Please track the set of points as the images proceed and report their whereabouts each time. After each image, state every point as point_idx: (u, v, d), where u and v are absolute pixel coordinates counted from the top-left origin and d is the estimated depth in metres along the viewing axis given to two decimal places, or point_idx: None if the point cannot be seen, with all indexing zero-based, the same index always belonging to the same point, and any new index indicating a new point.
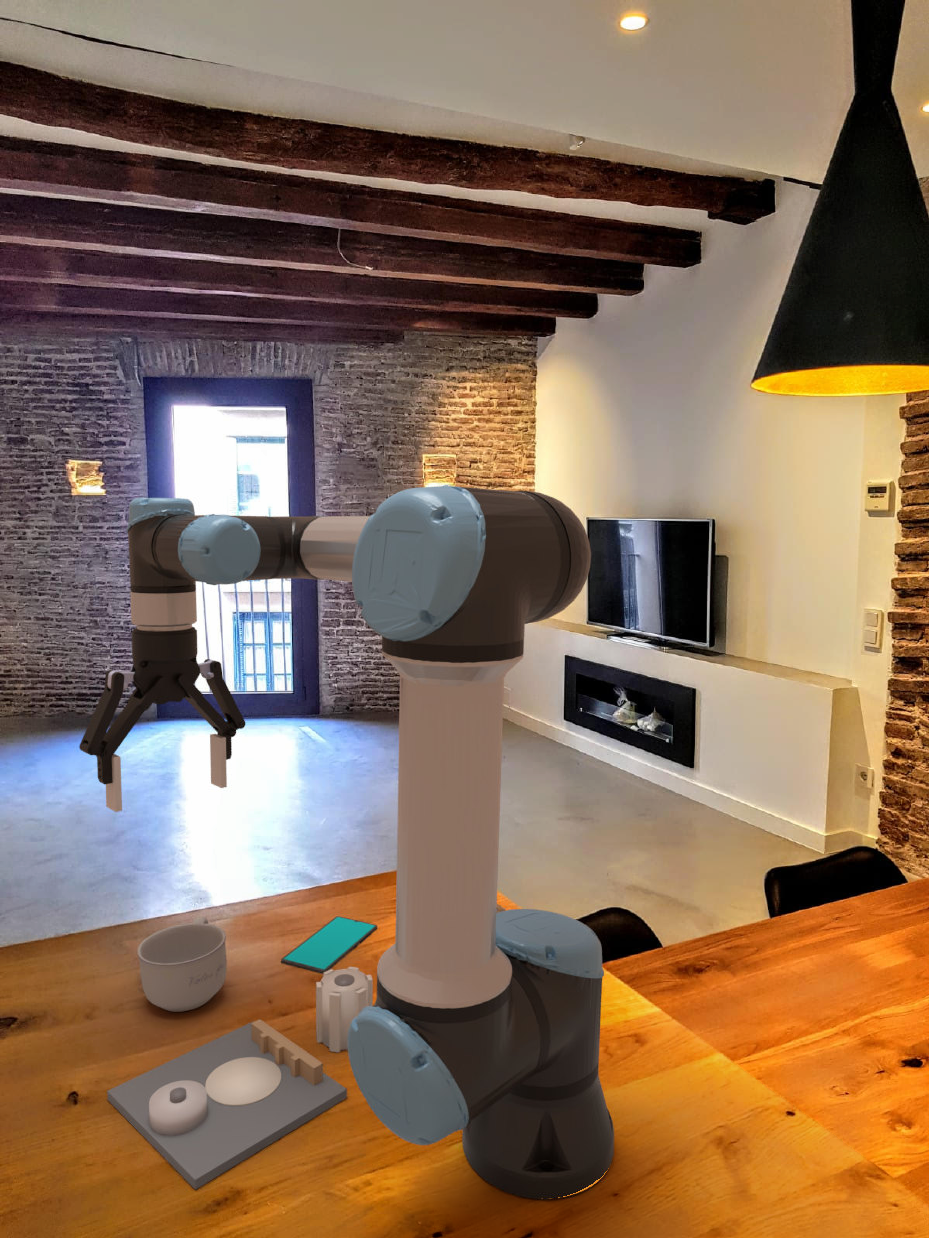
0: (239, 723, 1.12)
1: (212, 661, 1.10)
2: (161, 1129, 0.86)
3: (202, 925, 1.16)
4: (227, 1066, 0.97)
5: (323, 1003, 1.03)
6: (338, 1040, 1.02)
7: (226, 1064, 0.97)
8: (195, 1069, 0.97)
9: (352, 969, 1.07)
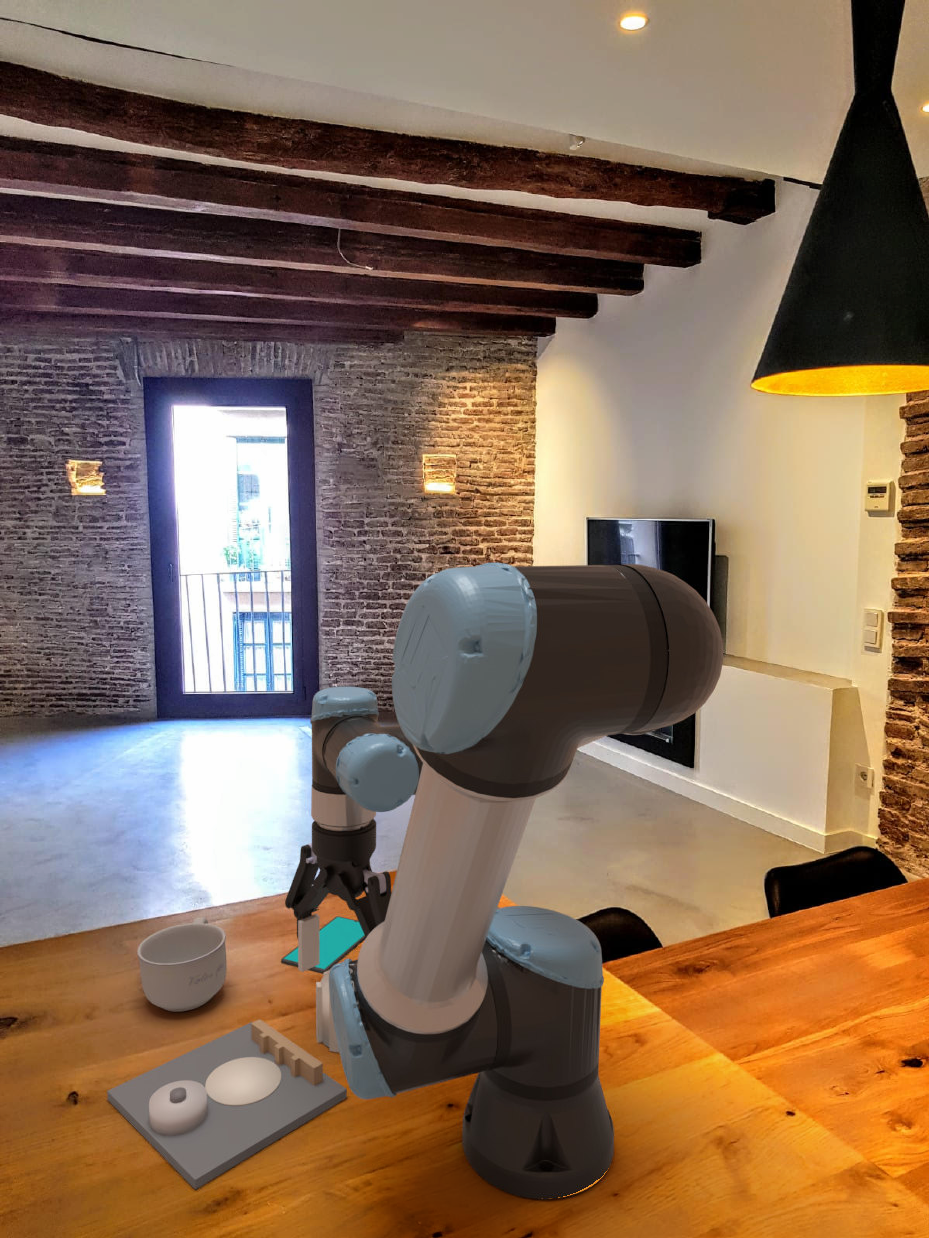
0: None
1: (374, 875, 0.98)
2: (161, 1129, 0.86)
3: (202, 925, 1.16)
4: (227, 1066, 0.97)
5: (323, 1003, 1.03)
6: None
7: (226, 1064, 0.97)
8: (195, 1069, 0.97)
9: None
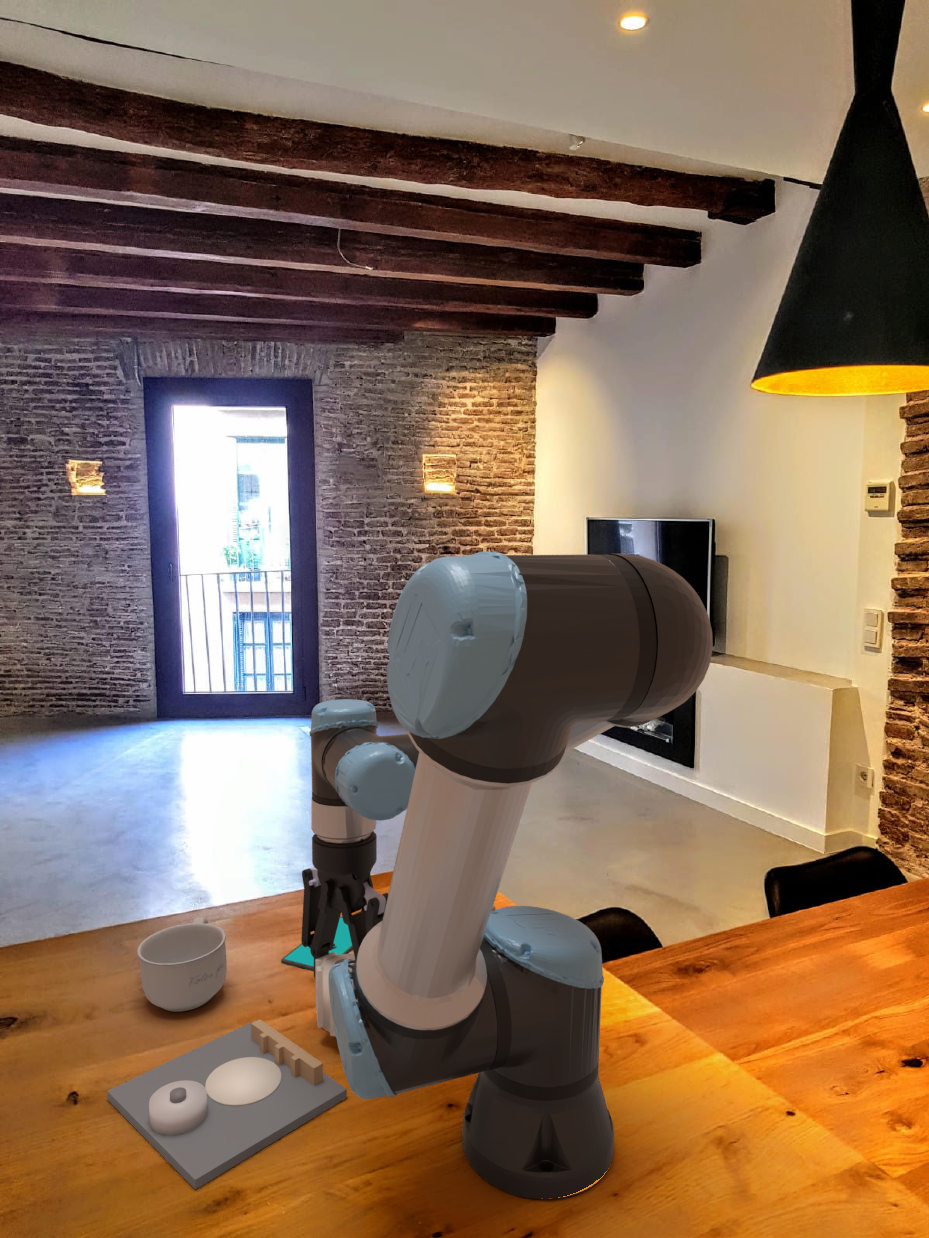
0: None
1: (375, 897, 0.98)
2: (161, 1129, 0.86)
3: (202, 925, 1.16)
4: (227, 1066, 0.97)
5: (323, 987, 1.02)
6: None
7: (226, 1064, 0.97)
8: (195, 1069, 0.97)
9: (353, 954, 1.06)
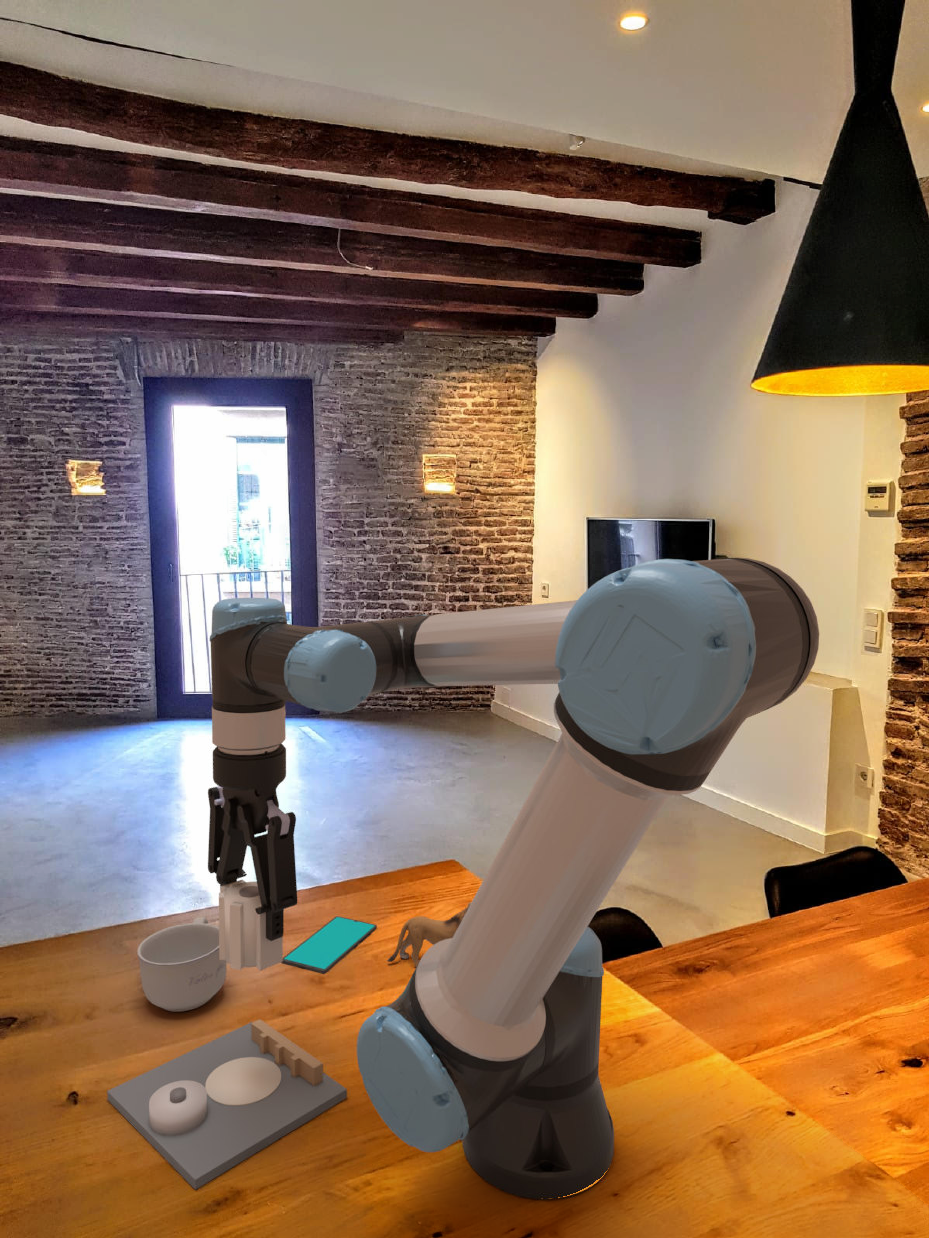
0: (272, 903, 0.88)
1: (278, 816, 0.88)
2: (161, 1129, 0.86)
3: (202, 925, 1.16)
4: (227, 1066, 0.97)
5: (225, 915, 0.92)
6: (239, 956, 0.91)
7: (226, 1064, 0.97)
8: (195, 1069, 0.97)
9: None
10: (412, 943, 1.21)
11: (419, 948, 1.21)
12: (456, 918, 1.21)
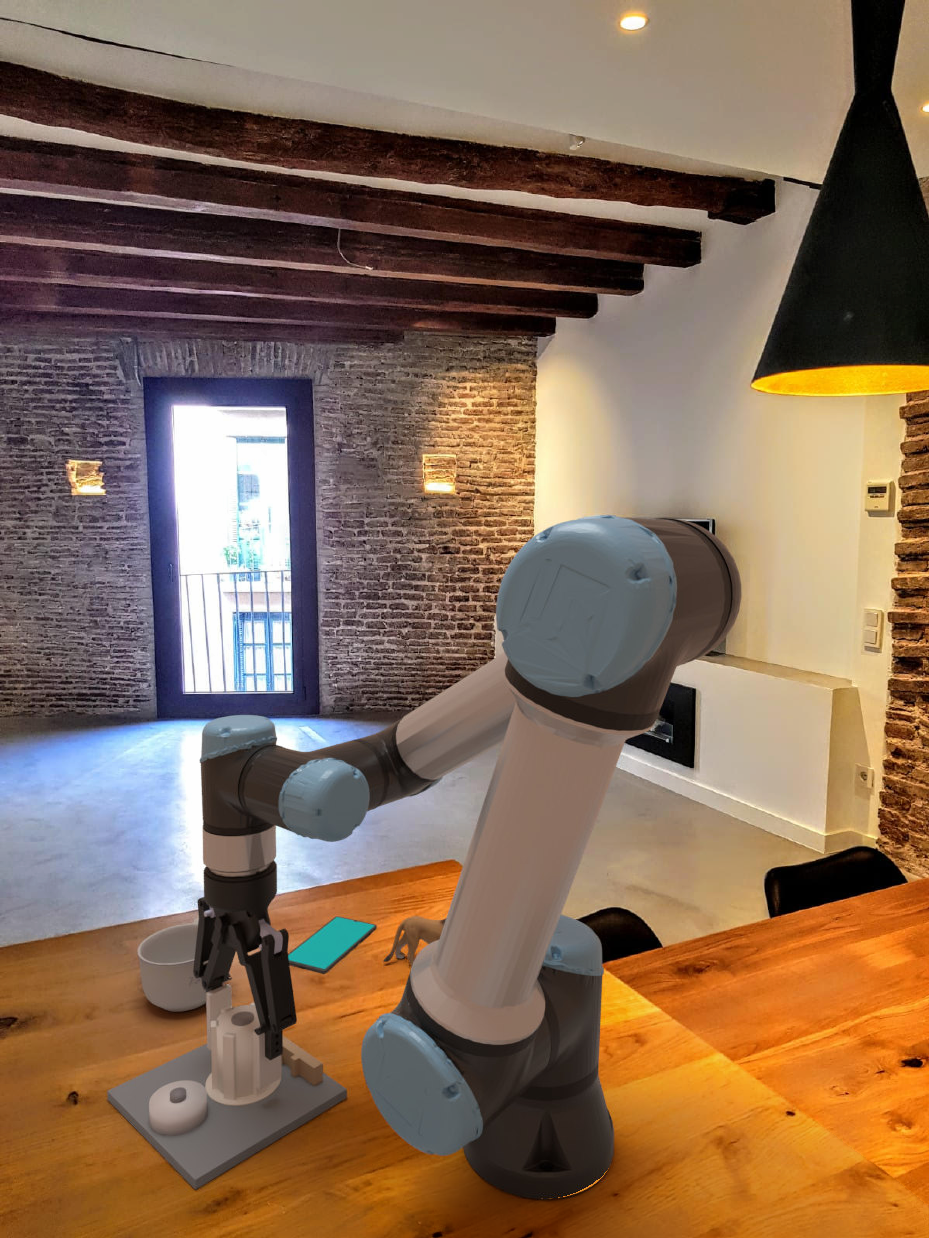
0: (271, 1024, 0.88)
1: (270, 934, 0.88)
2: (161, 1129, 0.86)
3: None
4: None
5: (217, 1045, 0.92)
6: (233, 1086, 0.91)
7: None
8: (195, 1069, 0.97)
9: (254, 1006, 0.96)
10: (408, 943, 1.21)
11: (415, 948, 1.21)
12: None
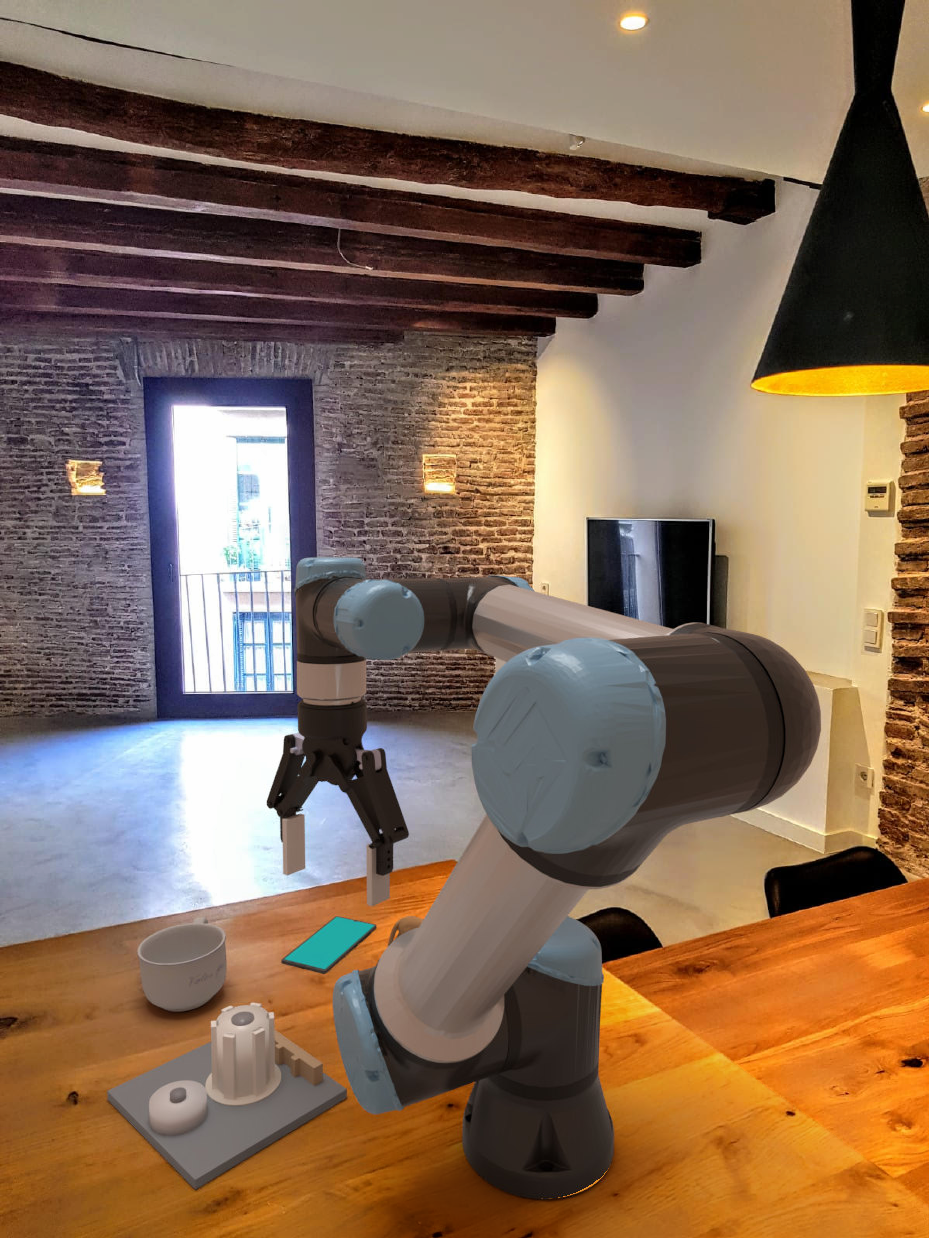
0: (386, 836, 0.90)
1: (368, 751, 0.92)
2: (161, 1129, 0.86)
3: (202, 925, 1.16)
4: None
5: (217, 1045, 0.92)
6: (233, 1086, 0.91)
7: None
8: (195, 1069, 0.97)
9: (254, 1006, 0.96)
10: None
11: None
12: None
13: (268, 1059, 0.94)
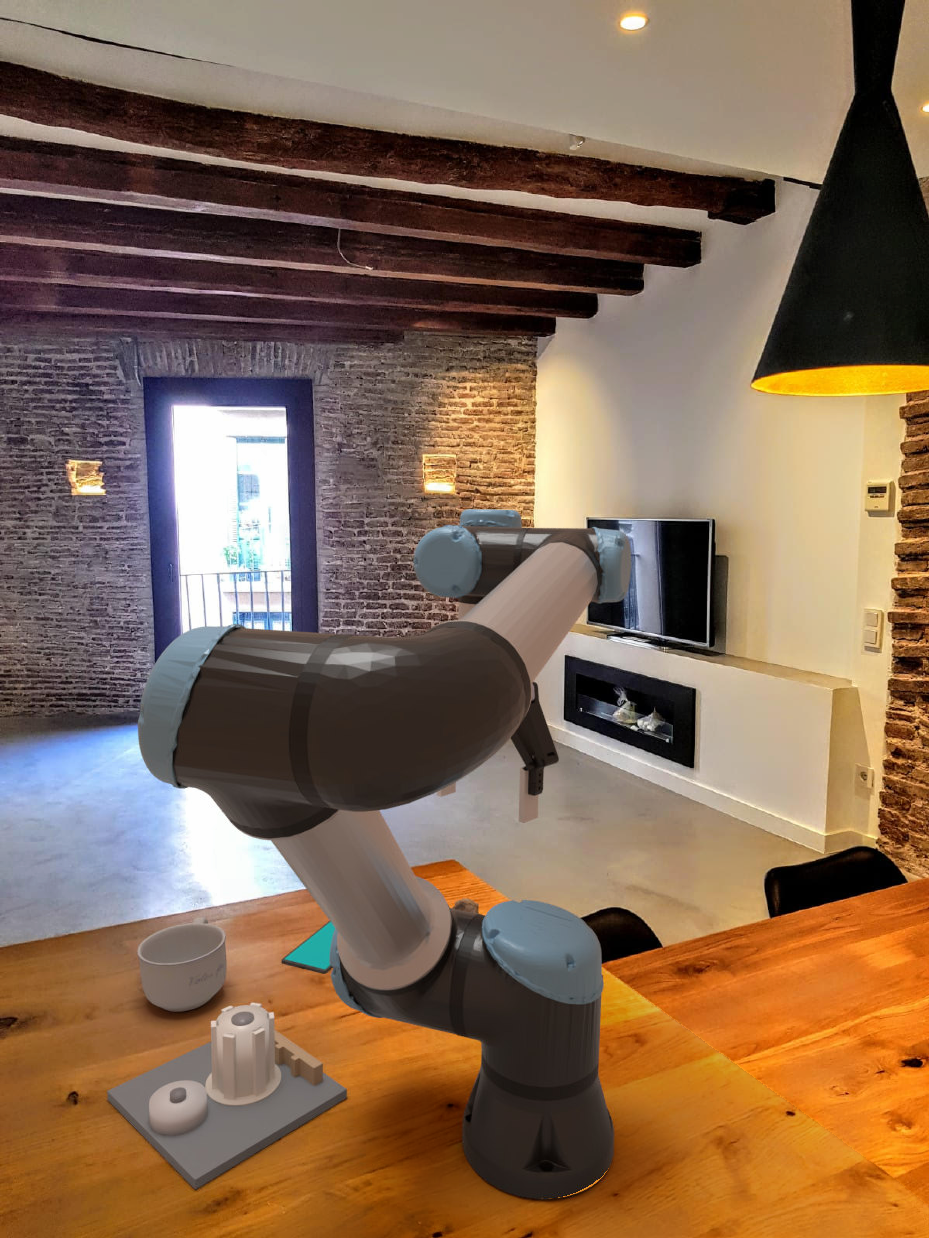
0: (539, 760, 1.00)
1: None
2: (161, 1129, 0.86)
3: (202, 925, 1.16)
4: None
5: (217, 1045, 0.92)
6: (233, 1086, 0.91)
7: None
8: (195, 1069, 0.97)
9: (254, 1006, 0.96)
10: None
11: None
12: None
13: (268, 1059, 0.94)
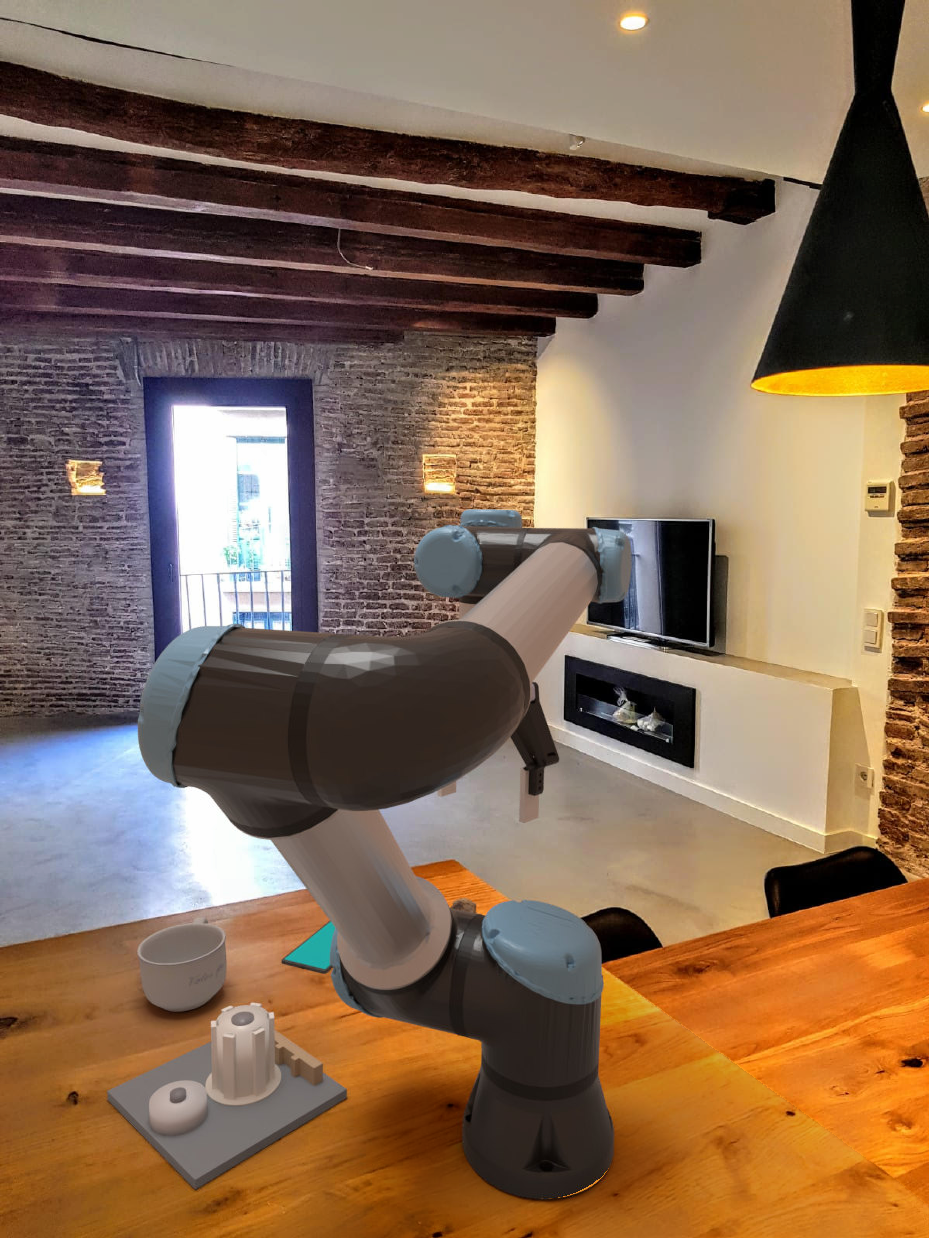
0: (540, 760, 1.00)
1: None
2: (161, 1129, 0.86)
3: (202, 925, 1.16)
4: None
5: (217, 1045, 0.92)
6: (233, 1086, 0.91)
7: None
8: (195, 1069, 0.97)
9: (254, 1006, 0.96)
10: None
11: None
12: None
13: (268, 1059, 0.94)
